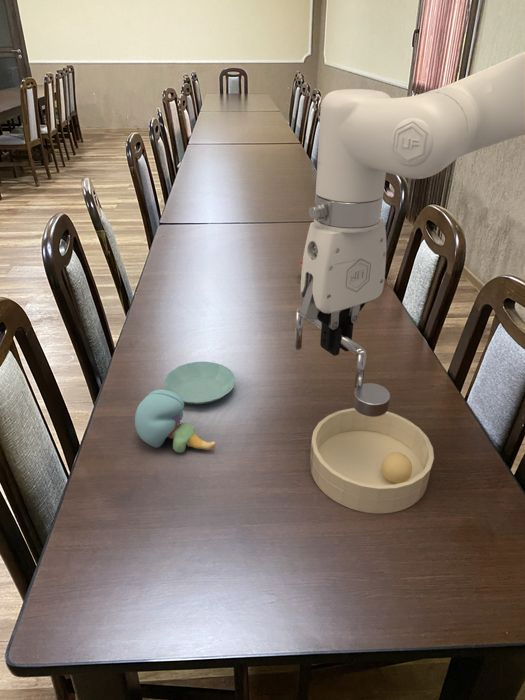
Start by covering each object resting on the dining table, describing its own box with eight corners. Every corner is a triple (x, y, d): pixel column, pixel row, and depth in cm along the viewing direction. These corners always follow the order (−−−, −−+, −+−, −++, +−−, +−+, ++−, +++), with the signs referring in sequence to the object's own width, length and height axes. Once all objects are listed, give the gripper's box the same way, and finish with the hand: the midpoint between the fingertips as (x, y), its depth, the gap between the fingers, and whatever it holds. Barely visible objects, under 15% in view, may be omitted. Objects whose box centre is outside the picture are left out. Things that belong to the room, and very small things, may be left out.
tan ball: (408, 488, 69) (422, 462, 70) (383, 470, 69) (397, 444, 70) (396, 489, 73) (409, 465, 74) (371, 472, 73) (385, 448, 74)
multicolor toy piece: (206, 424, 70) (124, 400, 73) (204, 473, 75) (127, 449, 78) (226, 393, 76) (150, 372, 79) (223, 441, 81) (151, 419, 83)
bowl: (453, 481, 73) (459, 456, 71) (365, 533, 65) (369, 507, 63) (370, 418, 85) (373, 395, 82) (287, 456, 77) (288, 432, 75)
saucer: (191, 422, 83) (190, 411, 82) (151, 389, 91) (150, 377, 90) (249, 394, 90) (249, 382, 89) (207, 364, 97) (207, 354, 96)
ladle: (395, 409, 67) (403, 361, 64) (369, 421, 65) (376, 373, 61) (307, 343, 80) (310, 301, 76) (283, 352, 78) (285, 309, 74)
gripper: (314, 231, 55) (305, 380, 64) (420, 208, 62) (398, 344, 72) (272, 212, 60) (270, 352, 70) (374, 193, 68) (360, 322, 77)
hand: (335, 348), depth 71 cm, fingers closed on ladle, 1 cm apart
